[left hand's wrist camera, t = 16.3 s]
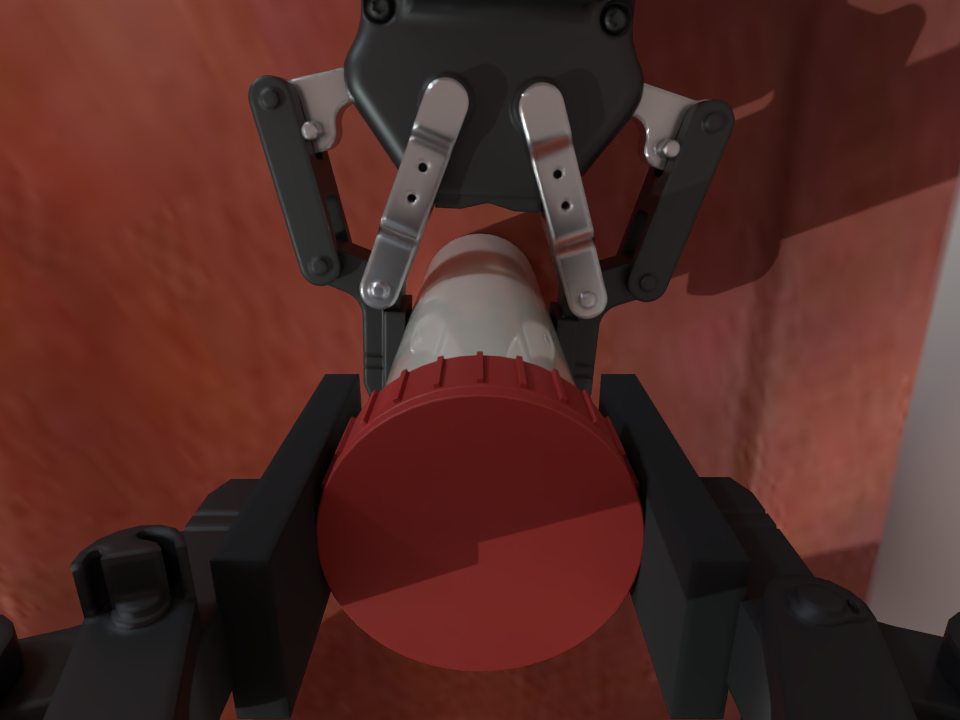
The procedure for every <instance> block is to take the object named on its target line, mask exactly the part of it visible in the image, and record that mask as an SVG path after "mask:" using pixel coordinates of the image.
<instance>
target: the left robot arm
mask: <svg viewBox="0 0 960 720" xmlns="http://www.w3.org/2000/svg"><path fill="white" fill-rule="evenodd" d="M361 410H362V409H361V395H360V380H359V374H325V376H324V377H323V379H322V381H321V382H320V384H319V385H318V387H317V389H316V390H315V392H314V393H313V395H312V397H311V398H310V400H309V401H308V403H307V405H306V406H305V408H304V410H303V411H302V413H301V414H300V416H299V418H298V419H297V421H296V422H295V424H294V426H293V427H292V429H291V430H290V432H289V434H288V435H287V437H286V438H285V440H284V442H283V443H282V445H281V446H280V448H279V450H278V451H277V453H276V455H275V456H274V458H273V459H272V461H271V463H270V464H269V466H268V467H267V469H266V471H265V472H264V474H263V475H262V477H261V479H231V480H229V481H228V482H226V483H225V484H223V485H222V486H220V487H219V488H217V489H216V490H215V491H213V492H212V493H210V494H209V495H208V496H207V497H206V499H205V500H204V501H203V503H202V504H201V506H200V507H199V508H198V510H197V511H196V512H195V513H196V514H195V516H192V518H191V519H190V520H189V522H188V523H187V525H186V526H185V529H184V531H181V532H179V531H178V530H177V529H176V528H172V527H167V526H163V525H146V526H137V527H133V528H129V529H125V530H121V531H117V532H115V533H113V534H110V535H108V536H106V537H104V538H101V539H99V540H97V541H96V542H94V543H93V544H91V545H90V546H88V547H87V548H85V549H84V550H83V551H81V552H80V553H79V555H78V556H77V557H76V558H75V559H74V561H73V562H72V563H71V564H70V566H71V570H72V573H73V577H74V581H75V585H76V588H77V592H78V596H79V600H80V603H81V607H82V611H83V614H84V618H85V619H84V621H83V623H82V625H78V626H75V627H71V628H68V629H63V630H59V631H54V632H50V633H45V634H41V635H36V636H32V637H27V638H23V639H18V638H17V635H16V632H15V629H14V625H13V622H11V621H10V620H9V619H8V618H6V617H5V616H4V615H1V614H0V720H220V716H221V714H222V712H223V710H224V707H225V705H226V703H227V700H228V698H229V696H230V694H231V691H232V692H233V698H234V703H235V709H236V715H237V719H290V717H291V714H292V711H293V708H294V705H295V702H296V699H297V695H298V692H299V689H300V686H301V683H302V680H303V677H304V674H305V670H306V667H307V664H308V661H309V658H310V655H311V652H312V649H313V646H314V642H315V639H316V636H317V633H318V630H319V627H320V624H321V621H322V617H323V614H324V611H325V608H326V605H327V602H328V599H329V596H330V592H331V590H330V588H329V586H328V584H327V582H326V580H325V577H324V574H323V571H322V568H321V565H320V562H319V554H318V546H317V535H316V520H317V512H318V507H319V503H320V500H321V496H322V493H323V490H324V489H321V484H322V482H323V480H324V477H325V475H326V473H327V470H328V468H329V466H330V464H331V461H332V459H333V457H334V455H335V452H336V450H337V448H338V445H339V443H340V441H341V438H342V436H343V434H344V432H345V429H346V427H347V425H348V423H349V420H350V419H351V417H354V418H357V416H358V415H359V413H360V412H361ZM599 411H600V412H601V414H602V415H603V417H604V418H605V417H607V416H609V418H610V419H611V421H612V424H613V426H614V428H615V430H616V433H617V435H618V437H619V439H620V442H621V444H622V446H623V448H624V451H625V453H626V455H627V458H628V460H629V462H630V464H631V467H632V469H633V471H634V473H635V476H636V478H637V480H638V482H639V486H640V488H637V491H638V494H639V497H640V501H641V504H642V507H643V515H644V523H645V529H644V540H643V549H642V558H641V564H640V567H639V570H638V573H637V576H636V579H635V581H634V583H633V585H632V587H631V589H630V594H631V598H632V601H633V604H634V607H635V610H636V613H637V616H638V619H639V622H640V626H641V629H642V632H643V635H644V638H645V641H646V644H647V647H648V651H649V654H650V657H651V660H652V663H653V666H654V669H655V672H656V676H657V679H658V682H659V685H660V688H661V691H662V694H663V697H664V701H665V704H666V707H667V710H668V713H669V716H670V719H723V717H724V711H725V706H726V700H727V694H728V689H729V690H730V692H731V694H732V696H733V699H734V701H735V703H736V706H737V708H738V710H739V712H740V715H741V719H740V720H960V612H958V613H957V614H956V615H954V616H953V617H952V618H950V619H949V621H948V624H947V627H946V630H945V633H944V636H943V637H941V636H936V635H932V634H927V633H922V632H918V631H913V630H909V629H905V628H900V627H895V626H892V625H888V624H885V623H881V622H878V621H877V620H876V618H875V616H874V615H873V613H872V612H871V610H870V609H869V607H868V606H867V605H866V603H864V602H863V601H862V600H861V599H859V598H858V597H857V596H856V595H854V594H853V593H852V592H851V591H849V590H847V589H845V588H843V587H841V586H839V585H837V584H835V583H833V582H831V581H828V580H824V579H821V578H817V577H814V575H813V574H812V573H811V571H810V570H809V569H808V567H807V566H806V564H805V563H804V562H803V560H802V559H801V558H800V556H799V555H798V554H797V552H796V551H795V550H794V548H793V547H792V546H791V544H790V543H789V542H788V540H787V539H786V537H785V536H784V535H783V533H782V532H781V531H780V529H777V528H776V524H775V523H774V521H773V520H772V519H771V517H770V516H769V515H768V514H766V513H765V509H764V508H763V506H762V505H761V504H760V502H759V501H758V500H757V498H756V497H755V496H754V494H753V493H752V492H751V491H749V490H748V489H746V488H745V487H743V486H742V485H740V484H739V483H737V482H736V481H734V480H733V479H731V478H730V477H699V476H698V475H697V473H696V472H695V470H694V468H693V467H692V465H691V464H690V462H689V460H688V459H687V457H686V455H685V454H684V452H683V451H682V449H681V447H680V446H679V444H678V443H677V441H676V439H675V438H674V436H673V435H672V433H671V431H670V430H669V428H668V427H667V425H666V423H665V422H664V420H663V419H662V417H661V415H660V414H659V412H658V410H657V409H656V407H655V406H654V404H653V402H652V401H651V399H650V398H649V396H648V394H647V393H646V391H645V390H644V388H643V386H642V385H641V383H640V382H639V380H638V378H637V377H636V375H635V374H601V386H600V400H599Z"/></svg>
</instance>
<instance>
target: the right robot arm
mask: <svg viewBox="0 0 960 720" xmlns="http://www.w3.org/2000/svg"><path fill="white" fill-rule="evenodd" d="M634 8H635V0H361V18H360V24H359V28H358V32H357V35H356V37H355V40H354V42H353V44H352V46H351V48H350V50H349V52H348V54H347V56H346V59H345V63H344V67H343V68H339V69H335V70H330V71H326V72H321V73H317V74H313V75H308V76H304V77H299V78H295V79H291V80H288V79H284V78H280V77H275V76H270V75H265V76H261V77H259V78H257V79H256V80H255V81H254V82H253V83H252V85H251V87H250V89H249V94H248V98H249V104H250V107H251V110H252V114H253V117H254V120H255V123H256V127H257V130H258V133H259V137H260V140H261V143H262V146H263V150H264V153H265V156H266V159H267V163H268V166H269V169H270V173H271V176H272V179H273V182H274V186H275V189H276V192H277V195H278V199H279V202H280V205H281V209H282V212H283V215H284V218H285V222H286V225H287V228H288V232H289V235H290V238H291V241H292V245H293V248H294V251H295V254H296V258H297V261H298V264H299V268H300V271H301V273H302V275H303V277H304V278H305V279H306V280H307V281H308V282H310V283H311V284H314V285H317V286H326V285H329V286H332V287H335V288H337V289H340V290H342V291H345V292H347V293H349V294H350V295H352V296H353V297H354V298H355V299H356V300H357V301H358V302H359V304H360V306H361V308H362V312H363V354H364V357H363V360H364V385H365V387H366V389H367V392H368V394H369V396H371V393H372V392H373V391H374V390H376V391H378V392H380V391H381V390H382V389H383V388H384V386H385V383H386V381H387V378H388V375H389V372H390V370H391V367H392V364H393V361H394V359H395V356H396V353H397V351H398V348H399V345H400V342H401V340H402V337H403V334H404V331H405V329H406V326H407V323H408V321H409V318H410V315H411V312H412V295H406V279H407V277H408V274H409V271H410V269H411V266H412V263H413V261H414V258H415V255H416V253H417V250H418V247H419V245H420V242H421V240H422V237H423V234H424V232H425V229H426V227H427V224H428V222H429V219H430V217H431V214H432V211H433V209H434V206H435V207H437V208H458V209H462V208H466V207H471V206H475V205H480V204H484V203H491V204H494V205H497V206H500V207H503V208H506V209H509V210H512V211H520V212H539V215H540V219H541V222H542V226H543V229H544V233H545V236H546V239H547V242H548V246H549V250H550V253H551V257H552V261H553V265H554V268H555V272H556V276H557V280H558V283H559V290H558V301H557V302H550V317H551V319H552V322H553V325H554V328H555V330H556V333H557V336H558V338H559V341H560V344H561V346H562V349H563V352H564V355H565V357H566V360H567V363H568V365H569V368H570V371H571V374H572V376H573V379H574V382H575V384H576V387H577V389H579V390H580V391H581V392H582V391H583V390H584V389H585V390H586V391H588V392H589V395H591V390H592V382H593V373H594V365H595V356H596V347H597V339H598V330H599V324H600V321H601V319H602V317H603V315H604V314H605V313H606V312H607V311H608V310H609V309H611V308H612V307H614V306H617V305H620V304H623V303H627V302H630V301H633V300H639V301H642V302H651V301H654V300H656V299H658V298H659V297H661V296H662V295H663V294H664V292H665V291H666V289H667V286H668V284H669V281H670V279H671V277H672V274H673V272H674V269H675V267H676V264H677V262H678V260H679V257H680V255H681V252H682V250H683V248H684V245H685V243H686V240H687V238H688V236H689V233H690V231H691V228H692V226H693V224H694V221H695V219H696V216H697V214H698V211H699V209H700V207H701V204H702V202H703V199H704V197H705V195H706V192H707V190H708V187H709V185H710V183H711V180H712V178H713V175H714V173H715V171H716V168H717V166H718V163H719V161H720V158H721V156H722V154H723V151H724V149H725V146H726V144H727V142H728V139H729V137H730V134H731V132H732V130H733V127H734V113H733V110H732V109H731V107H730V106H729V105H728V104H727V103H726V102H724V101H721V100H709V99H706V100H692V99H689V98H687V97H684V96H681V95H678V94H675V93H672V92H669V91H666V90H663V89H660V88H657V87H654V86H651V85H648V84H645V83H644V77H643V72H642V68H641V66H640V63H639V61H638V58H637V56H636V52H635V48H634V43H633V34H632V27H633V16H634ZM352 104H354V105H355V107H356V108H357V109H358V111H359V112H360V114H361V115H362V117H363V118H364V120H365V121H366V123H367V124H368V126H369V127H370V129H371V130H372V132H373V133H374V135H375V136H376V138H377V139H378V141H379V142H380V144H381V145H382V147H383V148H384V150H385V151H386V153H387V154H388V156H389V157H390V159H391V160H392V162H393V163H394V165H395V166H396V168H397V169H398V173H397V176H396V179H395V182H394V184H393V187H392V190H391V193H390V196H389V199H388V202H387V204H386V207H385V210H384V213H383V216H382V219H381V222H380V225H379V231H378V235H377V238H376V240H375V243H374V246H373V249H372V251H371V250H368V249H366V248H363V247H361V246H359V245H356V244H354V243H352V240H351V236H350V233H349V229H348V225H347V222H346V218H345V214H344V211H343V207H342V203H341V200H340V196H339V192H338V189H337V185H336V181H335V178H334V174H333V170H332V167H331V163H330V159H329V156H328V152H327V151H329V150H332V149H333V148H335V147H336V146H337V145H338V144H339V142H340V140H341V138H342V124H341V123H342V116H343V114H344V112H345V110H346V109H347V108H348V107H349V106H350V105H352ZM630 118H631V119H632V120H633V121H634V122H635V123H636V124H637V126H638V129H639V134H640V138H639V143H638V154H639V157H640V159H641V161H642V162H643V163H644V164H646V165H647V166H649V167H650V168H649V171H648V173H647V176H646V179H645V181H644V184H643V186H642V189H641V192H640V194H639V197H638V200H637V202H636V205H635V207H634V210H633V213H632V215H631V218H630V221H629V223H628V226H627V229H626V231H625V234H624V236H623V239H622V242H621V244H620V247H619V250H618V252H617V255H616V256H613V257H610V258H607V259H603V260H600V261H599V260H598V256H597V252H596V248H595V242H594V239H595V237H594V230H593V226H592V222H591V217H590V213H589V209H588V205H587V201H586V197H585V192H584V188H583V184H582V180H581V177H582V176H583V175H584V174H585V173H586V171H587V170H588V169H589V168H590V167H591V165H592V164H593V163H594V162H595V160H596V159H597V158H598V157H599V156H600V154H601V153H602V152H603V151H604V150H605V148H606V147H607V146H608V145H609V144H610V142H611V141H612V140H613V139H614V137H615V136H616V135H617V134H618V133H619V131H620V130H621V129H622V128H623V127H624V125H625V124H626V123H627V122H628V120H629V119H630Z"/></svg>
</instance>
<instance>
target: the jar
mask: <svg viewBox="0 0 960 720" xmlns="http://www.w3.org/2000/svg"><path fill="white" fill-rule="evenodd" d="M477 351H483V355H489V356H502V357H507V358H513V359H516V356H517V355H518V356H522V358H523V361H525V362H528V363H531V364H535V365H538V366H540V367H542V368H544V369H547V370H549V371H552V370H553V368H554V369H556V370H558V371H559V374H560V377H562V378H563V379H565V380H566V381H568V382H570V383H571V384H573V385H574V386H575V387H576V384H575V382H574V379H573V376H572V374H571V371H570V368H569V365H568V363H567V360H566V357H565V355H564V352H563V349H562V346H561V344H560V341H559V338H558V336H557V333H556V330H555V328H554V325H553V322H552V319H551V317H550V314H549V311H548V309H547V306H546V303H545V300H544V298H543V295H542V292H541V290H540V287H539V284H538V281H537V279H536V276H535V273H534V271H533V268H532V266H531V264H530V262H529V261H528V259H527V257H526V256H525V255H524V254H523V252H522V251H521V250H520V249H518V248H517V247H516V246H515V245H513V244H512V243H511V242H509V241H507V240H505V239H503V238H500V237H498V236H494V235H490V234H471V235H466V236H463V237H460V238H457V239H455V240H453V241H451V242H450V243H448V244H447V245H445V246H444V247H443V248H442V249H441V250H440V251H439V252H438V253H437V254H436V255H435V256H434V258H433V259H432V261H431V263H430V264H429V266H428V269H427V271H426V274H425V277H424V280H423V282H422V285H421V288H420V291H419V293H418V296H417V299H416V301H415V304H414V307H413V310H412V312H411V315H410V318H409V321H408V323H407V326H406V329H405V331H404V334H403V337H402V340H401V342H400V345H399V348H398V351H397V353H396V356H395V359H394V361H393V364H392V367H391V370H390V372H389V375H388V378H387V381H386V383H385V386H384V387H386V386H387V385H388V384H389V383H391V382H393V381H394V380H396V379H397V378H399V377H400V375H401V372H402V371H403V370H405V369H407V370H408V372H410V371H412V370H414V369H416V368H418V367H420V366H423V365H426V364H429V363H432V362H435V361H437V358H438V357H439V356H444V359H448V358H453V357H458V356H471V355H477ZM576 388H577V387H576Z"/></svg>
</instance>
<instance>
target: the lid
mask: <svg viewBox="0 0 960 720" xmlns="http://www.w3.org/2000/svg"><path fill="white" fill-rule="evenodd" d="M637 488H640V486H639V482H638V480H637V478H636V476H635V473H634V471H633V469H632V467H631V464H630V462H629V460H628V458H627V455H626V453H625V451H624V448H623V446H622V444H621V442H620V439H619V437H618V435H617V433H616V430H615V428H614V426H613V424H612V421H611V419H610V418H609V416H607V417H605V418H604V417H603V415H602V414H601V412H600V411H599V410H598V408H597V407H596V406H595V405H594V404H593V402H592V400H591V397H590V395H589V392H588V391H586V390H585V389H584V390H583V391H582V392H581V391H580V390H579V389H577V388H576V387H575V386H574V385H573V384H571V383H570V382H568V381H566V380H565V379H563V378H562V377H560V374H559V371H558V370H556V369H554V368H553V370H552V371H549V370H547V369H544V368H542V367H540V366H538V365H535V364H531V363H528V362H525V361H523V358H522V356H518V355H517V356H516V359H513V358H507V357H502V356H489V355H483V351H477V355H471V356H458V357H453V358H448V359H444V356H439V357H438V358H437V361H435V362H432V363H429V364H426V365H423V366H420V367H418V368H416V369H414V370H412V371H410V372H408V370H407V369H405V370H403V371H402V372H401V375H400V377H399V378H397V379H396V380H394V381H393V382H391V383H389V384H388V385H387V386H386V387H384V388H383V389H382V390H381V391H380V392H378V391H376V390H374V391H373V392H372V393H371V396H370V398H369V401H368V403H367V405H366V406H365V407H364V408H363V409H362V410H361V412H360V413H359V415H358V416H357V418H354V417H351V419H350V420H349V423H348V425H347V427H346V429H345V432H344V434H343V436H342V438H341V441H340V443H339V445H338V448H337V450H336V452H335V455H334V457H333V459H332V461H331V464H330V466H329V468H328V470H327V473H326V475H325V477H324V480H323V482H322V484H321V489H324V490H323V493H322V496H321V500H320V503H319V507H318V512H317V520H316V535H317V546H318V554H319V562H320V565H321V568H322V571H323V574H324V577H325V580H326V582H327V584H328V586H329V588H330V590H331V591H332V593H333V595H334V597H335V598H336V600H337V601H338V603H339V604H340V606H341V607H342V608H343V610H344V611H345V612H346V613H347V614H348V616H349V617H350V618H351V619H352V620H353V621H354V622H355V623H356V624H357V625H358V626H359V627H360V628H361V629H363V630H364V631H365V632H366V633H367V634H369V635H370V636H371V637H372V638H374V639H375V640H377V641H378V642H380V643H381V644H383V645H385V646H386V647H388V648H390V649H392V650H394V651H396V652H398V653H400V654H402V655H404V656H406V657H409V658H411V659H414V660H417V661H419V662H422V663H425V664H429V665H433V666H437V667H441V668H447V669H454V670H460V671H479V672H482V671H501V670H507V669H514V668H520V667H524V666H528V665H531V664H535V663H539V662H541V661H544V660H547V659H549V658H552V657H555V656H557V655H559V654H561V653H563V652H565V651H567V650H569V649H571V648H573V647H575V646H576V645H578V644H579V643H581V642H582V641H584V640H585V639H587V638H588V637H590V636H591V635H592V634H593V633H594V632H596V631H597V630H598V629H599V628H600V627H602V626H603V625H604V624H605V623H606V622H607V621H608V619H609V618H610V617H611V616H612V615H613V614H614V613H615V612H616V611H617V609H618V608H619V606H620V605H621V604H622V602H623V601H624V599H625V598H626V597H627V595H628V593H629V591H630V589H631V587H632V585H633V583H634V581H635V579H636V576H637V573H638V570H639V567H640V564H641V558H642V549H643V540H644V529H645V523H644V515H643V507H642V504H641V501H640V497H639V494H638V491H637Z"/></svg>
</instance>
